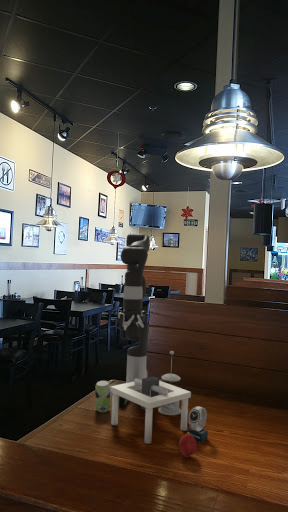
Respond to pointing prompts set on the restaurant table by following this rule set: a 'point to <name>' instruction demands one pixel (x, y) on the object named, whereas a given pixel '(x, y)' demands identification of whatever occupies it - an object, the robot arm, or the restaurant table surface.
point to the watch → (198, 418)
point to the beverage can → (102, 396)
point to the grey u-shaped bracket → (146, 387)
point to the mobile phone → (122, 401)
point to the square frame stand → (150, 401)
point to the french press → (174, 406)
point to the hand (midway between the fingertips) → (131, 338)
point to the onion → (187, 445)
